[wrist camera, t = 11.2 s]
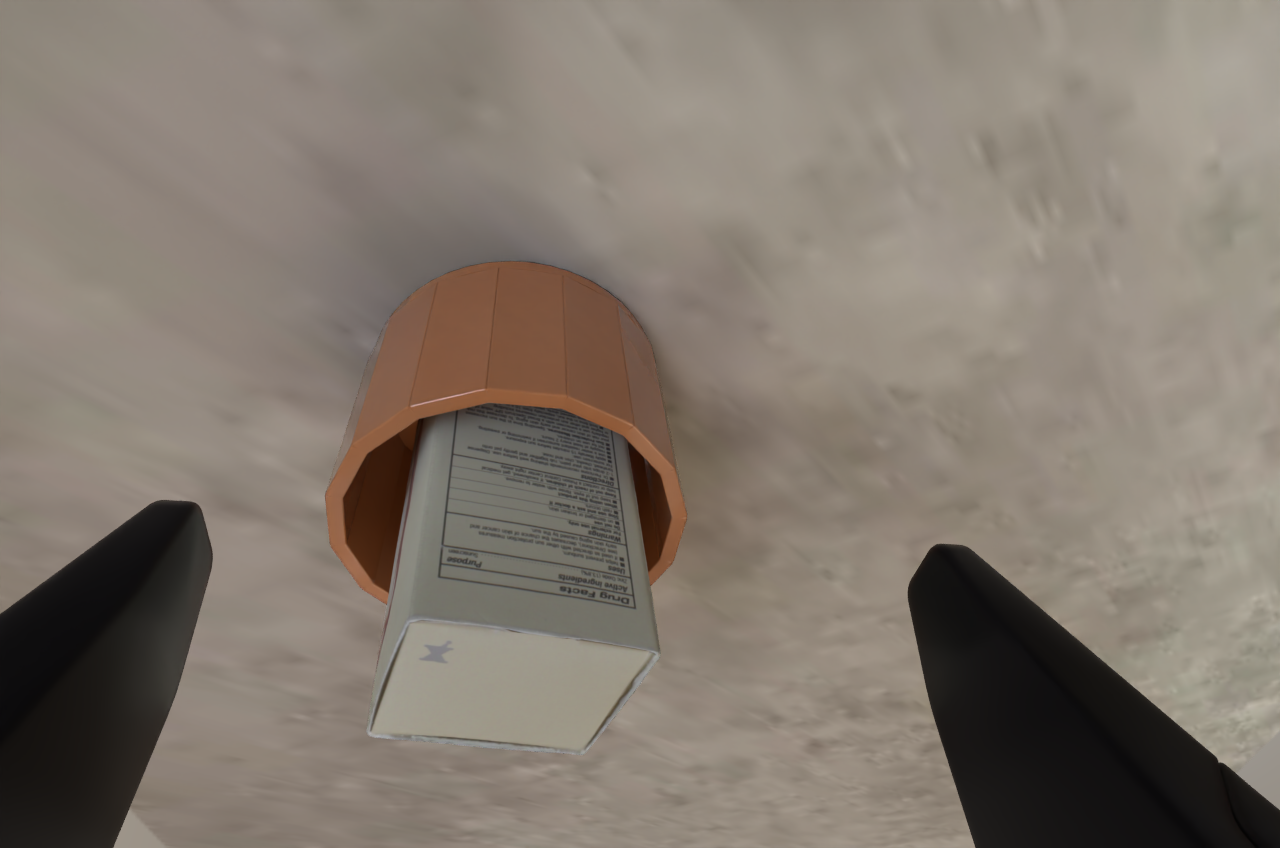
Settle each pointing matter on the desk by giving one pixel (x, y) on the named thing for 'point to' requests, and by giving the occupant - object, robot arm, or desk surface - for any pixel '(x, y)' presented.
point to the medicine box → (514, 585)
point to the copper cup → (499, 397)
